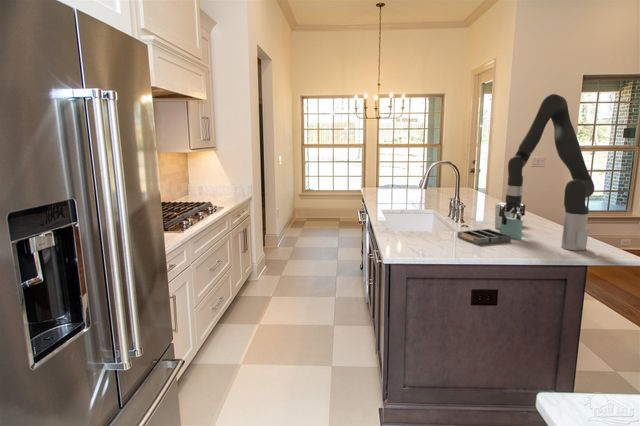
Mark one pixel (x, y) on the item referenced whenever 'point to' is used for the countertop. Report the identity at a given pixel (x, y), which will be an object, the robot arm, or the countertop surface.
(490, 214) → the countertop surface
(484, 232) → the rack
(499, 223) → the skincare box
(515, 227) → the panel
